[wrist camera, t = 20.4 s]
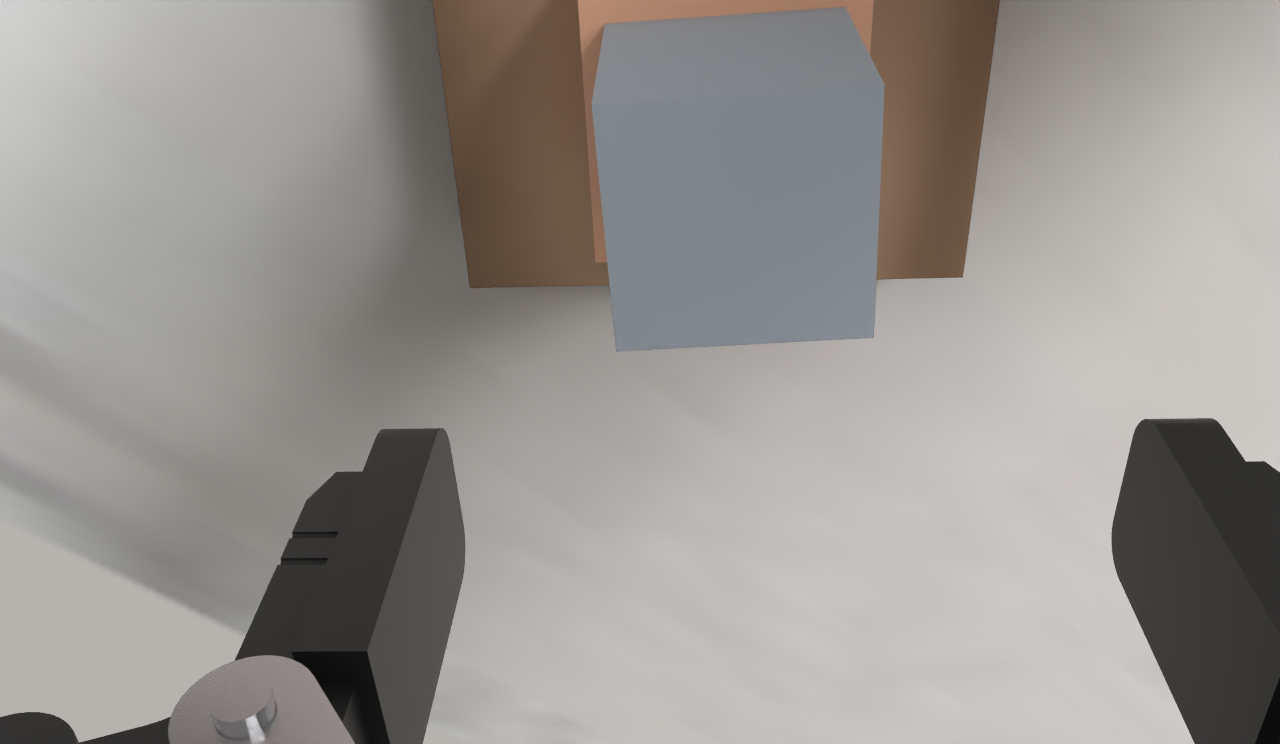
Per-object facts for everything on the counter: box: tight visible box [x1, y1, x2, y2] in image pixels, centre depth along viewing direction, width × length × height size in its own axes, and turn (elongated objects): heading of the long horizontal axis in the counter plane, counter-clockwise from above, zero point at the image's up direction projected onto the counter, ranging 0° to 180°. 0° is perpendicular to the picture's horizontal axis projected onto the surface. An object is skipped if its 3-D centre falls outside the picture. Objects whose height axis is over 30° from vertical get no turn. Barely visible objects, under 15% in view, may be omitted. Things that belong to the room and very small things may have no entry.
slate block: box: [592, 7, 885, 351], centre depth 20 cm, size 4×4×4 cm
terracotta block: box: [578, 0, 874, 263], centre depth 25 cm, size 6×6×5 cm
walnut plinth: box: [432, 0, 1000, 288], centre depth 28 cm, size 13×12×3 cm
